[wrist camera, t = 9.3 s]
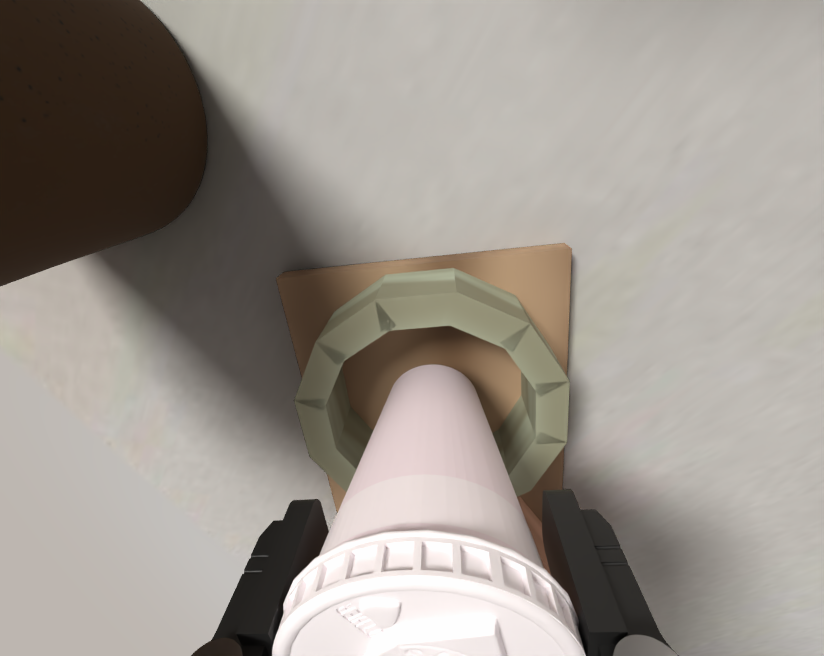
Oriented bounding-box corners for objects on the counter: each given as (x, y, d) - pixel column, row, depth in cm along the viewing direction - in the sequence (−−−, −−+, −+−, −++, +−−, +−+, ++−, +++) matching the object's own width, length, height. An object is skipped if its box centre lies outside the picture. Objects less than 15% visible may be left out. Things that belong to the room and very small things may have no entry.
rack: (564, 243, 17) (599, 269, 13) (553, 592, 25) (572, 666, 22) (284, 271, 18) (244, 303, 14) (365, 595, 27) (354, 666, 23)
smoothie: (544, 381, 16) (944, 1278, 3) (457, 484, 19) (498, 1228, 6) (402, 304, 15) (207, 1150, 2) (331, 423, 18) (48, 1154, 5)
